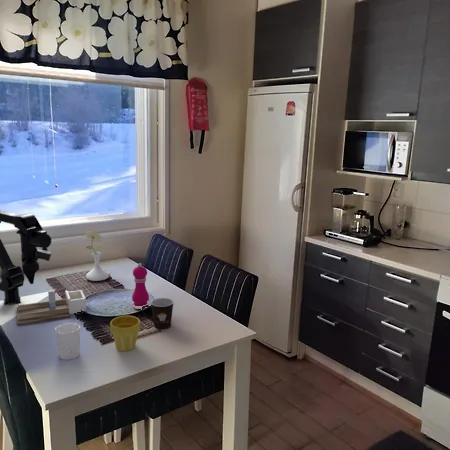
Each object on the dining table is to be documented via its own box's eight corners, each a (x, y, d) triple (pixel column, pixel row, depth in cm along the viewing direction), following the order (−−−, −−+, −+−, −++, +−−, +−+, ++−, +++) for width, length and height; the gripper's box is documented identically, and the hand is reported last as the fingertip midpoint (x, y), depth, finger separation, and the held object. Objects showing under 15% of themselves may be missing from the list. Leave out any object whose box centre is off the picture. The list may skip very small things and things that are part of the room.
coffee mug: (177, 323, 177) (177, 299, 175) (167, 332, 169) (167, 308, 167) (151, 318, 181) (150, 295, 179) (140, 327, 173) (140, 303, 171)
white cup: (60, 349, 155) (58, 323, 153) (83, 349, 156) (82, 322, 153) (54, 361, 147) (52, 333, 145) (78, 360, 148) (76, 333, 146)
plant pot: (146, 347, 158) (145, 321, 156) (121, 357, 151) (120, 330, 148) (130, 337, 165) (129, 312, 163) (105, 346, 158) (104, 320, 156)
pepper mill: (145, 311, 188) (144, 266, 183) (129, 309, 189) (128, 265, 185) (151, 305, 195) (150, 261, 190) (136, 303, 196) (135, 260, 192)
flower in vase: (114, 278, 227) (112, 230, 222) (96, 284, 218) (94, 235, 212) (96, 273, 234) (94, 227, 228) (79, 279, 224) (76, 231, 219)
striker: (48, 306, 187) (47, 288, 186) (55, 305, 188) (53, 287, 187) (50, 312, 182) (49, 293, 180) (56, 311, 183) (55, 293, 181)
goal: (66, 305, 192) (65, 290, 191) (82, 302, 195) (81, 288, 194) (69, 314, 183) (68, 299, 182) (86, 311, 186) (85, 296, 185)
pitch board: (16, 309, 187) (16, 302, 186) (65, 302, 195) (64, 296, 195) (17, 325, 172) (16, 318, 171) (70, 317, 180) (69, 310, 180)
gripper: (51, 248, 179) (53, 285, 182) (47, 237, 195) (49, 271, 199) (20, 251, 174) (24, 288, 178) (19, 240, 190) (22, 274, 194)
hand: (31, 280), depth 187 cm, fingers open, 9 cm apart
